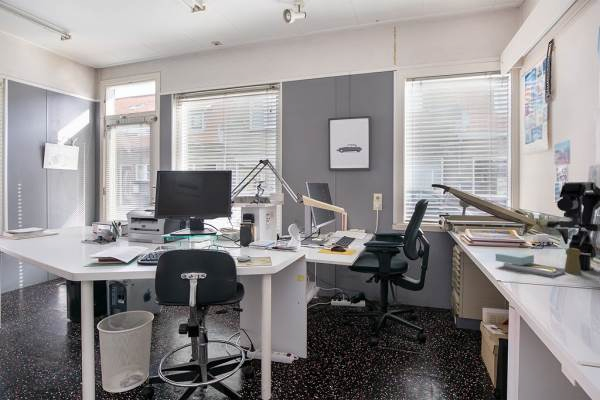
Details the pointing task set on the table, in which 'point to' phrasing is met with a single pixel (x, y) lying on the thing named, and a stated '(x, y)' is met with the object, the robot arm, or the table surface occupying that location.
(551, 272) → the board
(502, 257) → the cover
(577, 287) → the table surface
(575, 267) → the cork
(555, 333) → the table surface
